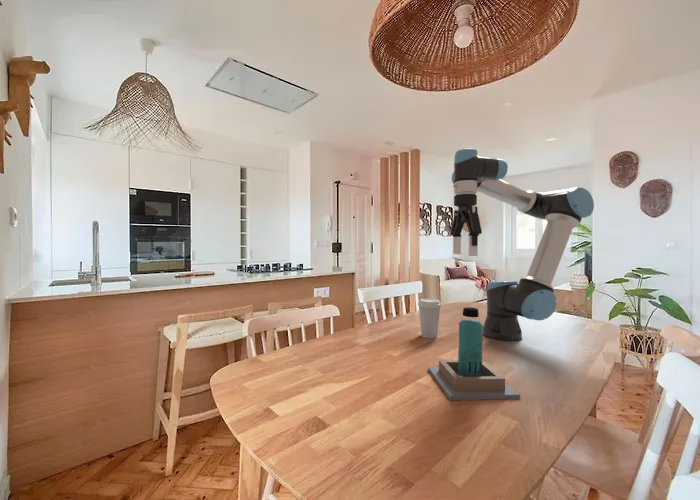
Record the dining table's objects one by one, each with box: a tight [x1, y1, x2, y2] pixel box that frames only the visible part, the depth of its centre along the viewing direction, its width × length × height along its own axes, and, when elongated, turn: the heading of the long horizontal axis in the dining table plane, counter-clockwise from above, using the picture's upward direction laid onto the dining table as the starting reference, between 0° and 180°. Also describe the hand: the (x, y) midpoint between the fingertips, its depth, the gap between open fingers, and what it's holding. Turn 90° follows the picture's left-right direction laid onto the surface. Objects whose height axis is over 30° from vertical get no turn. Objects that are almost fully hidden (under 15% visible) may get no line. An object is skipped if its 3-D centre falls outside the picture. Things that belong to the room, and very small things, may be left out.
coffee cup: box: [417, 298, 442, 339], centre depth 130 cm, size 10×10×15 cm
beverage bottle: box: [457, 306, 484, 377], centre depth 87 cm, size 6×7×20 cm
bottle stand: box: [427, 359, 521, 401], centre depth 87 cm, size 18×18×4 cm
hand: (464, 255), depth 110 cm, fingers open, 13 cm apart
